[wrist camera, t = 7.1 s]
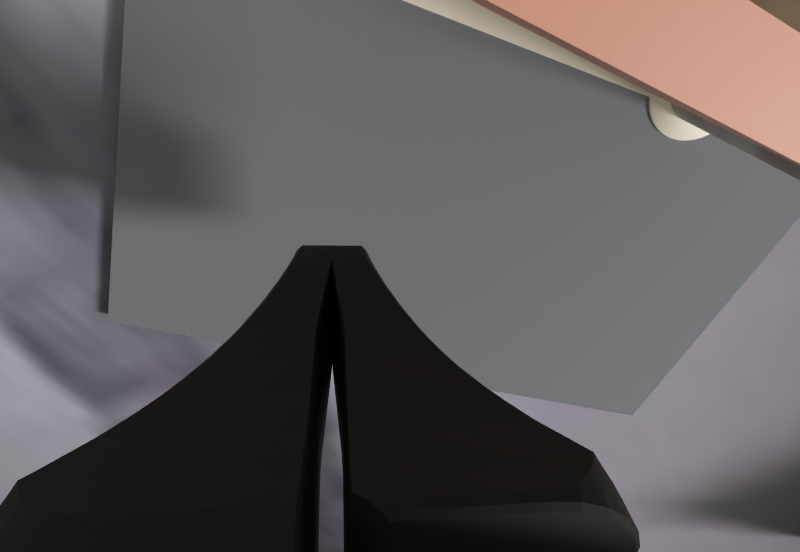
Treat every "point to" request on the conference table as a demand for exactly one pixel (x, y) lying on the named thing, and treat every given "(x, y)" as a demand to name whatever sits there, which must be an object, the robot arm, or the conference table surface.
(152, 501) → the robot arm
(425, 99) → the card
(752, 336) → the conference table surface
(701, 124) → the fence base
